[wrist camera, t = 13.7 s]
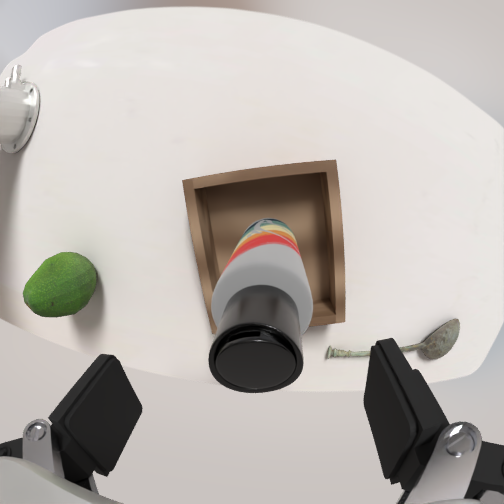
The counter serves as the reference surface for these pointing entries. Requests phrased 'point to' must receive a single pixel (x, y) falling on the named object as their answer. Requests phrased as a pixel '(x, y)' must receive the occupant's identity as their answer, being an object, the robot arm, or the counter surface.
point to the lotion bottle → (261, 311)
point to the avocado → (61, 285)
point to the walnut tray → (278, 207)
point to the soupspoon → (431, 346)
